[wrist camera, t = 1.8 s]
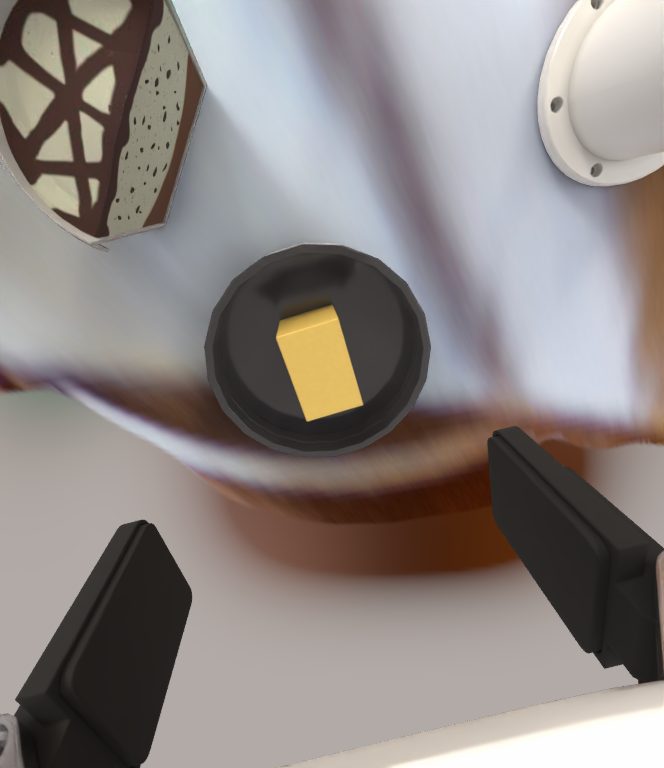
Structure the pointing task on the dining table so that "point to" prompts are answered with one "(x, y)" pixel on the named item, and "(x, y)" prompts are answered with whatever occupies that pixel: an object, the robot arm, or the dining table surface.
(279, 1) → the dining table surface
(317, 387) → the cheese
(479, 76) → the dining table surface
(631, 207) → the dining table surface
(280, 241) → the dining table surface
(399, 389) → the round cake pan
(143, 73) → the food container
